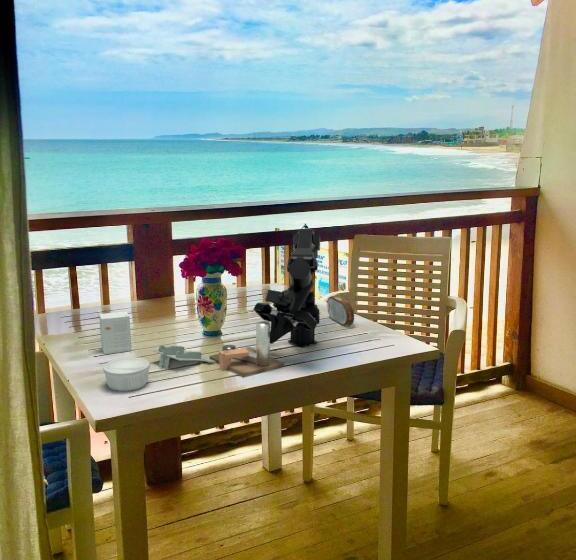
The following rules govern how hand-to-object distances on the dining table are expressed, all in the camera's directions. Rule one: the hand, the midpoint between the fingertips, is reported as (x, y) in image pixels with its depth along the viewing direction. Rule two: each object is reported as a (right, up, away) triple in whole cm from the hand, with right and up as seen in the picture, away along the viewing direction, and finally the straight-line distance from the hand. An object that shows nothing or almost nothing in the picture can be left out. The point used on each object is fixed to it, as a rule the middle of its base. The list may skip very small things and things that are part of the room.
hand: (270, 343), depth 170 cm
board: (-7, -6, +4) cm, 10 cm away
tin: (+22, +2, +43) cm, 48 cm away
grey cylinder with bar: (-7, -5, +4) cm, 9 cm away
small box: (-45, -4, +15) cm, 47 cm away
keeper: (-9, -7, +1) cm, 11 cm away
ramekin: (-35, -9, -11) cm, 38 cm away
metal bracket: (-24, -6, +5) cm, 26 cm away
